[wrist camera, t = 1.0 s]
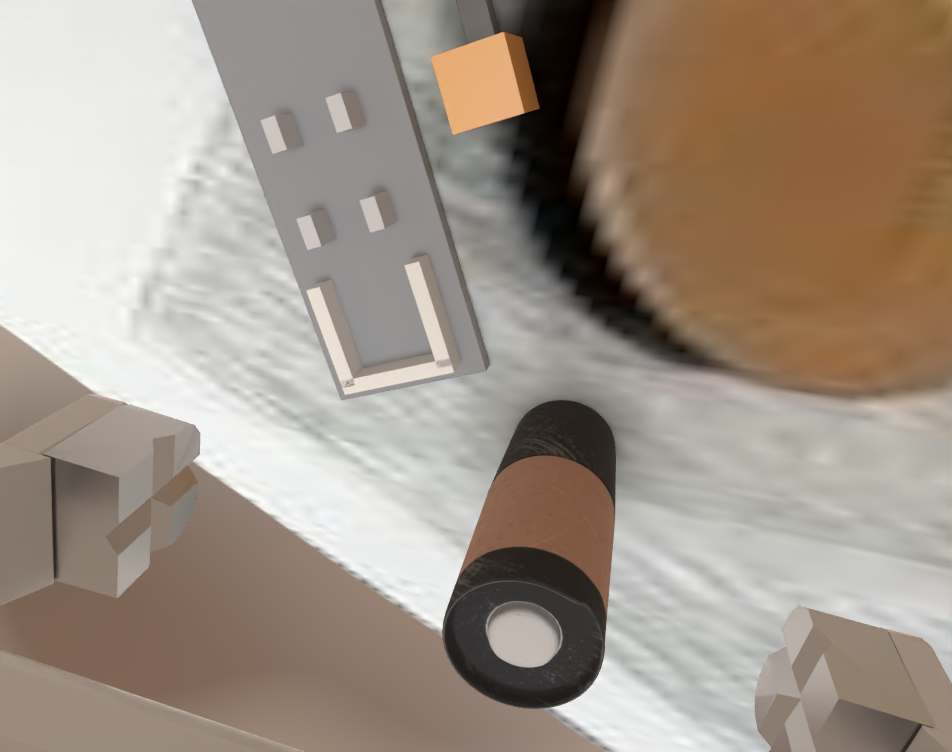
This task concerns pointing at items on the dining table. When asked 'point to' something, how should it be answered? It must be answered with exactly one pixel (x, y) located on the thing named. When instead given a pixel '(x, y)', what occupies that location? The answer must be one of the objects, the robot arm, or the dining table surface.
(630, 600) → the dining table surface
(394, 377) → the clip board
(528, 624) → the travel mug
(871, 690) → the robot arm
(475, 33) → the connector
